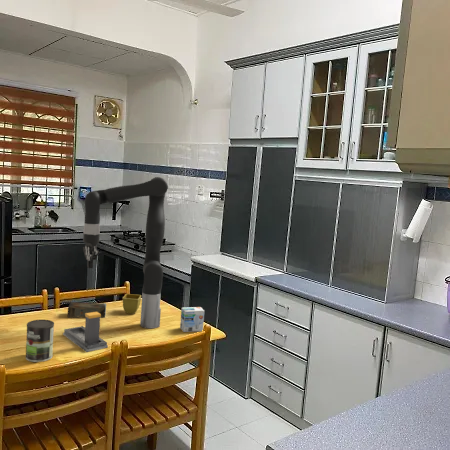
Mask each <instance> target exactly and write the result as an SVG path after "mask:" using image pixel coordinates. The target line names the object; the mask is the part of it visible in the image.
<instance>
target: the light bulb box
mask: <svg viewBox="0 0 450 450" xmlns="http://www.w3.org/2000/svg"><path fill="white" fill-rule="evenodd" d="M180 310H181V311H180V322H179V328H180V330H181V331H182V332H184V333H187V332H188V333H189V332H190V333H191V332H192V333H193V332H203V331H204V321H205V309H203V307H201V306H193V307H192V306H191V307H190V306H189V307H187V306H186V307H181V309H180ZM202 330H203V331H202Z"/></svg>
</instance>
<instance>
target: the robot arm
mask: <svg viewBox="0 0 450 450" xmlns="http://www.w3.org/2000/svg"><path fill="white" fill-rule="evenodd" d="M168 189H169V184H168V182H167V181H166V180H165V179H164V178H163V177H160V176H154V177H153V178H151V179H150V180H147V181H145V182H141V183H137V184H130V185H120V186H119V185H118V186H114V187H109V188H106V189H99V190H91V191H89V192H88V193H86V195H85V198H84V199H85V200H84V211H85V212H84V224H83V236H82V242H83V243H84V246H83V247H82V251H83V253H84V258H85V259H86V260H87V262H86V263H87V264H86V266H87V269H93V267H94V261H95V260H97V258H98V257H99V256H98V255H99V253H100V251H99V250H97V248H98V247H97V246H98V245H97V244H98V243H100V236H101V234H100V232H101V231H100V230H101V226H100V223H101V222H100V220H101V215H100V211H101V210H100V208H101V207H100V206H101V205H103V204H108V203H110V204H112V203H117V202H123V201H127V200H131V199H134V198H135V199H136V198H139V197H140V198H141V197H148V210H147V216H146V224H145V254H144V255H145V256H144V261H143V266H142V272H143V286H142V291H141V292H142V293H141V294H142V295H141V307H140V310H141V311H140V327H141V328H144V329H155V328H160V326H161V313H162V309H161V292H162V287H163V277H164V269H163V267H162V265H161V248H162V245H163V243H164V242H163V241H164V238H165V225H166V221H165V220H166V217H165V204H164V203H165V198H166V197H165V196H166V193H167V192H168Z"/></svg>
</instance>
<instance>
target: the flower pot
mask: <svg viewBox="0 0 450 450" xmlns="http://www.w3.org/2000/svg"><path fill="white" fill-rule="evenodd" d="M141 302H142V295H141V294H131V293H125V295H124V296H122V307H123V308H122V309H123V310H124V312H125V314H134V315H136V313H137V311H138V309H139V308H140V305H141Z"/></svg>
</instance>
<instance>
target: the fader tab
mask: <svg viewBox="0 0 450 450" xmlns="http://www.w3.org/2000/svg"><path fill="white" fill-rule="evenodd" d="M85 316H86V318H85V324H84V327H85V342H87V343H88V344H94V343H99V337H100V328H101V327H100V326H101V325H100V324H101V318H100V317H101V314H100V313H98V312H91V313H85Z"/></svg>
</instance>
